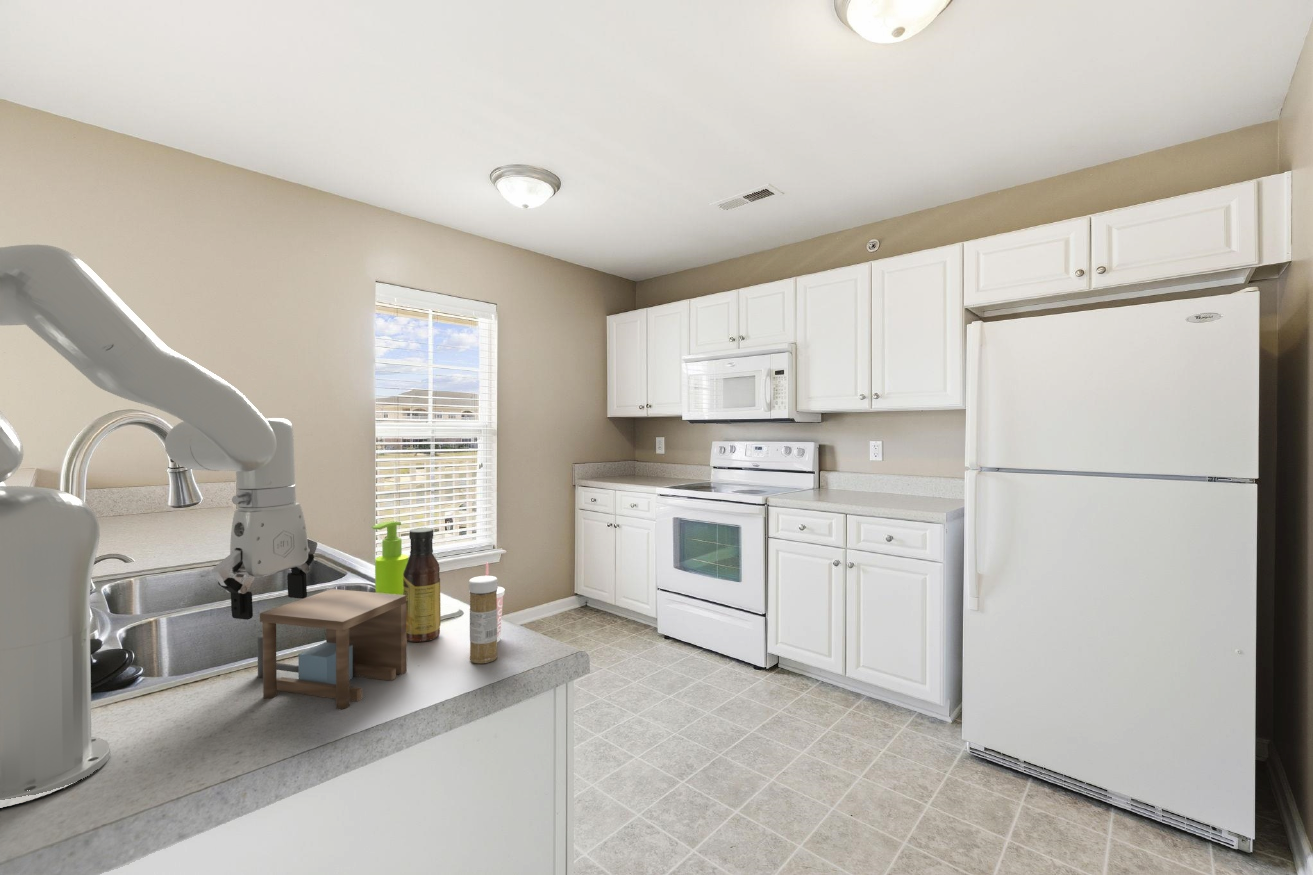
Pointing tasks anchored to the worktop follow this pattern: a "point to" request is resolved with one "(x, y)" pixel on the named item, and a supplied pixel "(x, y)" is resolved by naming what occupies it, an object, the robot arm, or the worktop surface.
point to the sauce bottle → (422, 588)
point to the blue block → (311, 663)
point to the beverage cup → (499, 605)
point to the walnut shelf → (342, 640)
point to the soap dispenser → (390, 562)
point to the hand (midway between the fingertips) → (271, 607)
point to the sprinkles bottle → (483, 619)
